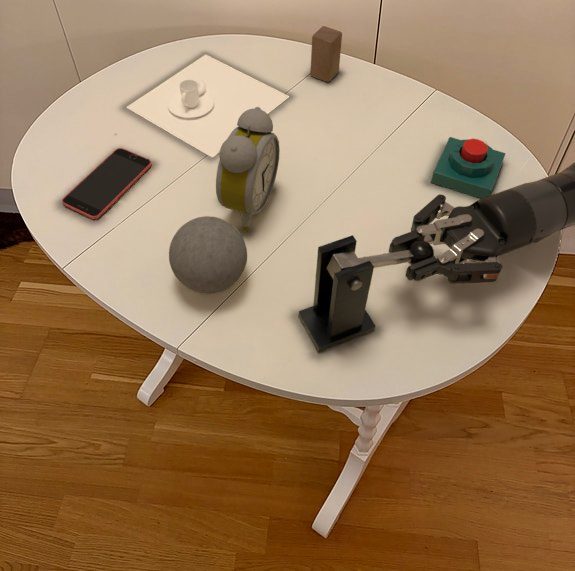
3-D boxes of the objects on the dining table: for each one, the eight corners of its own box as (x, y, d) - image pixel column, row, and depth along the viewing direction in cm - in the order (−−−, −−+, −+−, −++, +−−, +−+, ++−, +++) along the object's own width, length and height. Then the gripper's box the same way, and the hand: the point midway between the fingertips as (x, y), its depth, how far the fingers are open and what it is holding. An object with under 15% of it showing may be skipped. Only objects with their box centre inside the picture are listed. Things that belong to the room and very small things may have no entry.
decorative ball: (163, 266, 82) (151, 216, 74) (229, 240, 85) (224, 190, 77) (192, 320, 77) (182, 273, 69) (261, 290, 80) (259, 242, 72)
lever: (417, 252, 75) (429, 232, 73) (431, 271, 73) (444, 252, 71) (322, 267, 69) (331, 246, 66) (335, 289, 67) (345, 269, 64)
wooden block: (328, 83, 106) (331, 42, 100) (309, 76, 108) (311, 35, 101) (339, 72, 108) (343, 31, 102) (320, 65, 110) (323, 24, 103)
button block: (501, 163, 95) (509, 144, 92) (487, 200, 90) (495, 181, 87) (446, 147, 97) (452, 127, 94) (430, 182, 92) (435, 163, 89)
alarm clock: (252, 239, 85) (248, 160, 73) (209, 227, 86) (197, 147, 74) (280, 185, 92) (281, 103, 79) (239, 174, 93) (233, 92, 81)
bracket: (352, 295, 80) (364, 226, 68) (374, 330, 76) (390, 264, 65) (298, 316, 78) (301, 248, 66) (318, 353, 74) (325, 288, 63)
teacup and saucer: (193, 82, 106) (190, 62, 103) (227, 100, 103) (225, 80, 100) (158, 107, 102) (154, 86, 99) (191, 126, 99) (188, 106, 96)
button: (487, 151, 91) (490, 142, 90) (481, 166, 89) (484, 157, 88) (464, 144, 92) (466, 135, 90) (457, 159, 90) (460, 150, 89)
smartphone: (154, 161, 93) (95, 218, 86) (154, 163, 94) (96, 221, 87) (118, 145, 95) (58, 201, 88) (119, 148, 96) (59, 204, 88)
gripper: (492, 159, 76) (373, 201, 72) (565, 236, 69) (436, 287, 65) (477, 200, 82) (367, 240, 78) (543, 275, 75) (424, 324, 71)
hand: (399, 261), depth 72 cm, fingers closed on lever, 3 cm apart
